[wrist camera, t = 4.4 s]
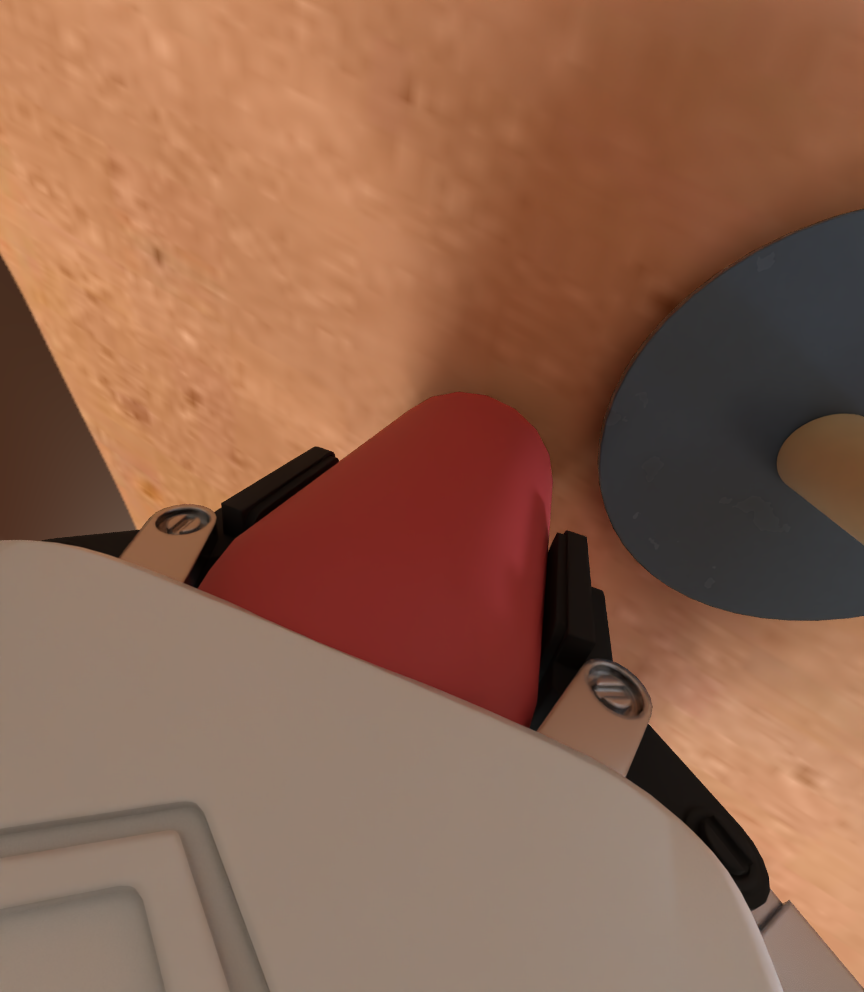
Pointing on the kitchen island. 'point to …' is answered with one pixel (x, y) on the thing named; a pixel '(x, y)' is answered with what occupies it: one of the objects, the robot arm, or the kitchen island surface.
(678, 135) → the kitchen island surface
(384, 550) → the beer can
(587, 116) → the kitchen island surface
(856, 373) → the lid
